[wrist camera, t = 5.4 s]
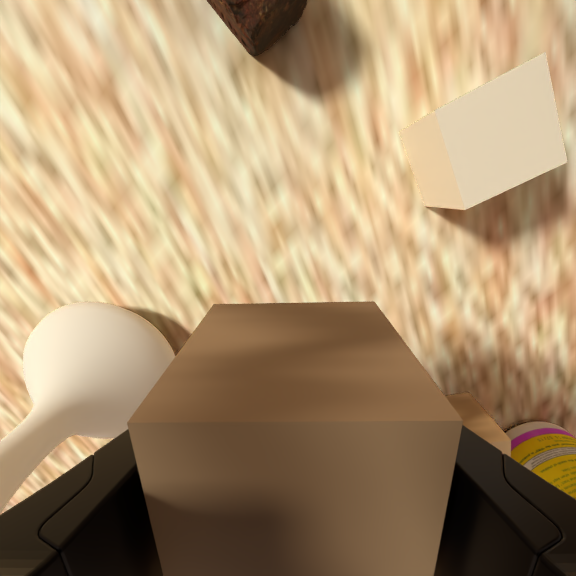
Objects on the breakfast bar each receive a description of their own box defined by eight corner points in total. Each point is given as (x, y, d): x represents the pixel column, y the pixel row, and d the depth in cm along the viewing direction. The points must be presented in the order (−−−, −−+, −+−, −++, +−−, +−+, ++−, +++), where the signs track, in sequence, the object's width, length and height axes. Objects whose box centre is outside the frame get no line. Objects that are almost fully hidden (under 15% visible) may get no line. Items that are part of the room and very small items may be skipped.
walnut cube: (374, 301, 9) (463, 420, 4) (365, 431, 11) (424, 625, 6) (214, 304, 9) (127, 423, 4) (227, 432, 11) (174, 623, 6)
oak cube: (468, 391, 24) (511, 440, 19) (469, 439, 25) (509, 495, 21) (406, 400, 24) (433, 450, 20) (410, 447, 26) (437, 504, 21)
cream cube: (477, 90, 18) (545, 51, 13) (498, 170, 19) (567, 162, 14) (398, 132, 18) (434, 110, 14) (423, 206, 20) (465, 210, 15)
